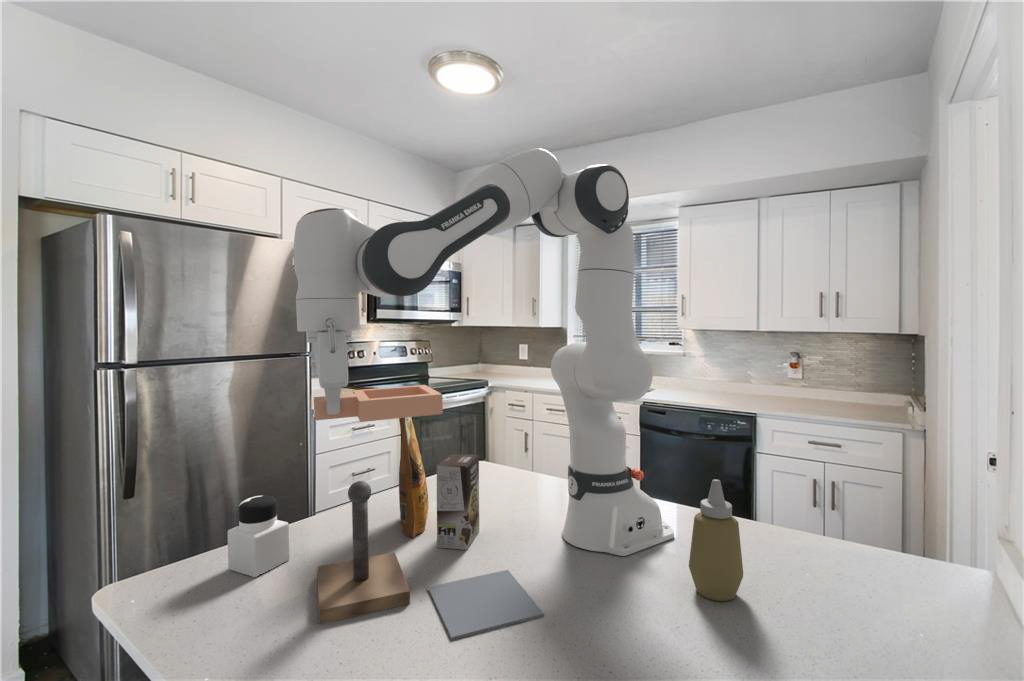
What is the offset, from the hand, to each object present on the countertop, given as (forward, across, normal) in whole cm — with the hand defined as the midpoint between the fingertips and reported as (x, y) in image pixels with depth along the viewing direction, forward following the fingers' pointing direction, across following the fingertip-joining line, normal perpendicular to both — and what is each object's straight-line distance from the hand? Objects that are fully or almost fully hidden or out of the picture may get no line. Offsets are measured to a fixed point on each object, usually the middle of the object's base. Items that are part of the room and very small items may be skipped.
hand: (332, 411), depth 74 cm
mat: (+30, -8, -20) cm, 37 cm away
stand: (+30, +3, -3) cm, 30 cm away
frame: (+1, 0, -6) cm, 6 cm away
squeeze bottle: (+32, -19, -55) cm, 67 cm away
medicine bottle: (+30, +19, +13) cm, 38 cm away
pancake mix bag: (+31, +27, -16) cm, 44 cm away
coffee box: (+31, +15, -23) cm, 41 cm away
